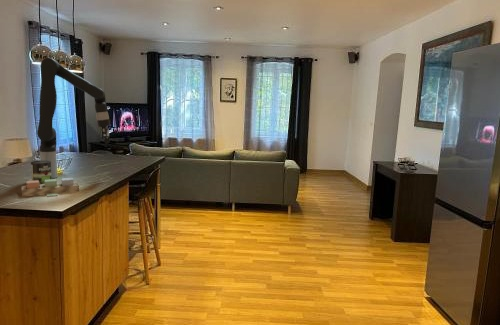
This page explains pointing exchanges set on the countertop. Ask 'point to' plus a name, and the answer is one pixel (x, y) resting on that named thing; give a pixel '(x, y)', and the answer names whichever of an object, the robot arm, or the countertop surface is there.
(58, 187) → the console
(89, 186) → the countertop surface
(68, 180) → the blue-grey button
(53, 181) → the sage button
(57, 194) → the tile
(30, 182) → the terracotta button
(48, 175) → the coffee can
